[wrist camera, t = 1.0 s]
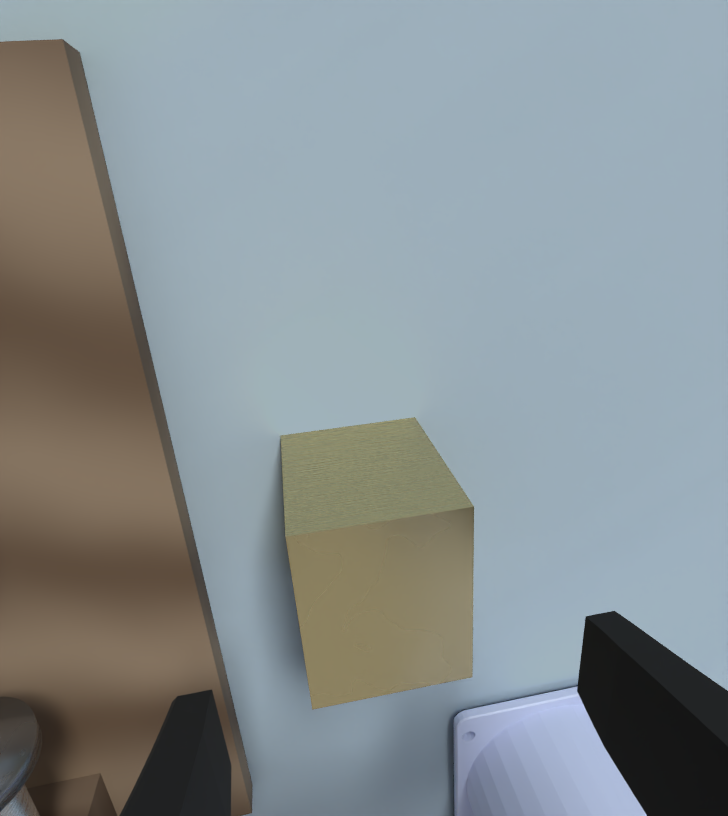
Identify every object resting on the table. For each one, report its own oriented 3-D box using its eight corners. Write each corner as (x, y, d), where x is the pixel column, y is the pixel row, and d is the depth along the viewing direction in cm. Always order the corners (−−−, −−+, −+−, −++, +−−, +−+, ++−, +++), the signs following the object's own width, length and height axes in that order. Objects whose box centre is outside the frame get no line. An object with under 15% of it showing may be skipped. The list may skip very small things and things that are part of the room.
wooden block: (419, 552, 18) (472, 677, 13) (300, 573, 17) (312, 709, 13) (414, 416, 16) (473, 506, 11) (280, 434, 15) (285, 536, 11)
